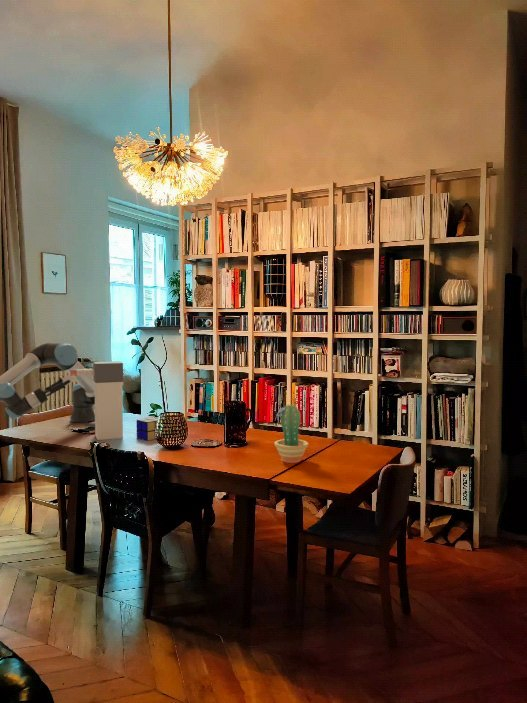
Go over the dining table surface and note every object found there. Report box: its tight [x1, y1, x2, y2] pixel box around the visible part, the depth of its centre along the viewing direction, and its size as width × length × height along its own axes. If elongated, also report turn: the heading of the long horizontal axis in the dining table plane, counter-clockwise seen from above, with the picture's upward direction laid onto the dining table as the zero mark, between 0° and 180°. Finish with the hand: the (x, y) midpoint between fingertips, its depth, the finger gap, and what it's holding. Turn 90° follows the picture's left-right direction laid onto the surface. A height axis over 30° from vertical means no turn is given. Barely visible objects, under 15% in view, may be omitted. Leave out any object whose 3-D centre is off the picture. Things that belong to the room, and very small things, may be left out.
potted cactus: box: [274, 404, 309, 464], centre depth 243 cm, size 15×15×25 cm
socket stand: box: [92, 360, 124, 441], centre depth 288 cm, size 14×14×40 cm
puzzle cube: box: [136, 417, 159, 442], centre depth 286 cm, size 10×10×10 cm
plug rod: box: [70, 368, 95, 376], centre depth 285 cm, size 25×3×3 cm, turn 112°
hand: (75, 375), depth 280 cm, fingers open, 13 cm apart
